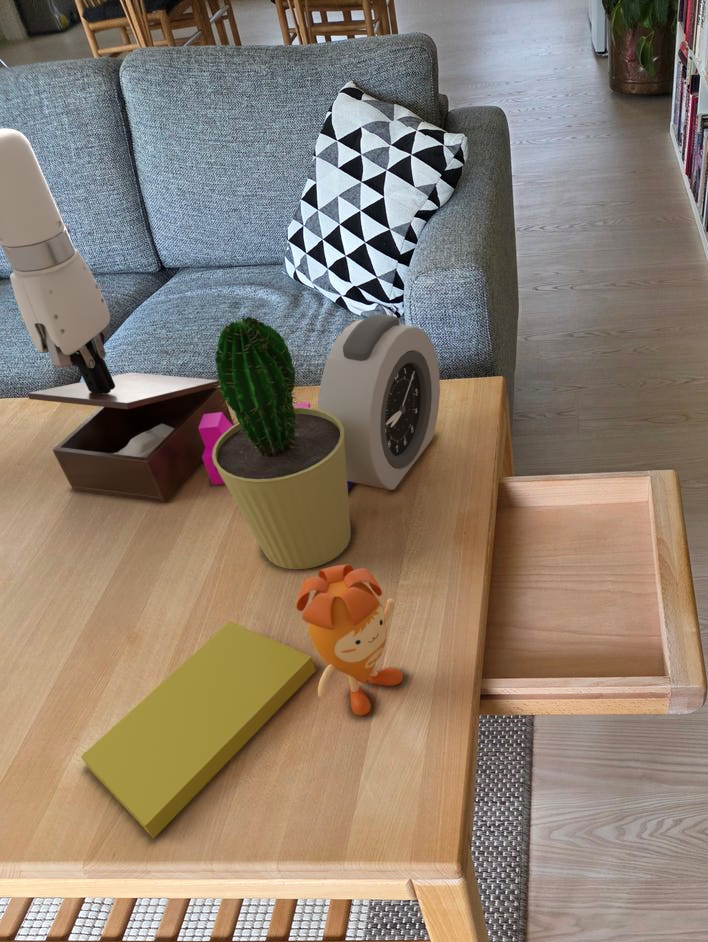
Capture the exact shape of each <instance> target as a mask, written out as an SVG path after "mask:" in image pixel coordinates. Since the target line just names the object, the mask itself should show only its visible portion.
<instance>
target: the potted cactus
mask: <svg viewBox="0 0 708 942" xmlns="http://www.w3.org/2000/svg"><path fill="white" fill-rule="evenodd" d="M254 311H256V310H255V308H254ZM231 314H232V316H233V320H232V321H231V322H230V321H229V320H228V318H227V317H225V318H226V323H224V325H225V326H224V325H221V327H222V328H223V329H222V330H221V329H217V332H218V333H219V335H218V338H216V337H213V339H214V340H216V341H218V342H217V343H215V342H214V341H213V342H212V341H210V340H209V343H211V344H214V345H215V346H217V348H216V347H215V349H214V351H215V352H214V351H211V350H210V349H207V351H206V352H207V353H208V354H209V355H210V356H212V357H214V358H213V359H211V360H213V361H214V363H213V366H214V367H215V368H216V370H215V371H212V374H213V375H215V374H216V375H215V376H214V377H213V379H214V378H218V379H216V380H217V381H219V383H220V384H219V386H220V388H221V390H219V389H220V388H219V389H218V390H219V391H221V393H222V397H223V399H224V400H226V403H227V405H225V406H228V408H227V409H231V412H230V414H233V413H234V415H235V418H234V419H233V418H232V421H233V420H237V421H238V422H237V423H235V424H234V426H232V427H231V428H229V429H228V430H227V431H226V432H225V433H224V434H222V436H221V437H220V438H219V439H218V441H217V442H216V444H215V446H214V448H213V453H212V458H213V462H214V464H215V466H216V467H217V469H218V472H219V474H220V475H221V477H222V479H223V481H224V482H225V483H224V484H225V486H226V488H227V489H228V491H229V493H230V495H231V497H232V498H233V500H234V502H235V504H236V506H237V507H238V509H239V512H241V514H242V516H243V518H244V521H246V523H247V525H248V527H249V529H250V530H251V532H252V534H253V536H254V538H255V539H256V541H257V543H258V545H259V547H260V548H261V551H262V552H263V553H264V555H265V556H266V558H267V560H269V561H270V562H271V563H272V564H274V565H275V566H278V567H280V568H283V569H287V570H307V569H311V568H312V569H313V568H316V567H319V566H322V565H325V564H327V563H329V562H331V561H332V560H334V559H335V558H337V557H339V556H340V555H341V554H342V553H343V552H344V551H345V550H346V548H347V547H348V545H349V543H350V540H351V535H352V530H351V528H352V527H351V514H350V503H349V502H350V501H349V490H348V487H347V473H346V459H345V444H344V428H343V426H342V423H341V422H340V421H339V420H338V419H337V417H335V416H334V415H332V414H330V413H329V412H326V411H323V410H320V409H318V408H314V407H311V406H310V407H311V408H310V407H294V405H293V404H298V403H300V400H297V398H298V397H299V395H297V394H298V393H297V392H296V393H294V389H295V388H298V386H301V384H300V383H301V381H300V382H299V381H296V372H298V371H299V370H298V368H299V369H300V368H301V365H298V366H294V365H293V359H294V358H297V357H298V356H300V354H301V352H300V353H299V354H296V355H295V356H292V355H291V353H290V352H292V353H293V351H292V350H290V349H289V346H290V344H288V345H287V344H286V342H285V339H286V338H288V337H289V336H291V335H292V333H290V334H289V335H287V336H286V334H287V330H288V329H287V328H286V329H285V330H284V332H283V333H282V335H281V334H280V332H278V327H277V328H274V327H275V324H274V323H275V321H276V319H277V318H275V319H274V321H273V322H272V324H271V325H268V323H269V321H270V319H268V320H267V322H266V323H265V319H263V320H262V321H261V320H259V319H260V315H261V314H260V313H258V314H257V316H255V317H252V316H253V314H250V316H247V317H244V316H245V314H243V316H241V318H240V317H239V316H238V318H237V319H236V317H235V315H234V314H233V312H231ZM285 336H286V337H285ZM207 346H208V347H210V348H211V349H213V346H210V345H209V344H207ZM209 352H210V353H209ZM211 353H212V354H211ZM214 355H215V356H214ZM304 365H305V364H303V366H304ZM296 369H297V370H296ZM215 385H216V384H215ZM216 389H217V387H216ZM217 392H218V391H217ZM223 399H222V400H223ZM222 400H221V401H222ZM221 401H220V402H221ZM220 402H219V403H220ZM219 403H218V404H219ZM222 403H223V402H222ZM224 403H225V402H224ZM226 403H225V404H226ZM301 403H304V402H301ZM223 405H224V404H223ZM223 405H222V406H223ZM225 406H223V407H225ZM220 407H221V406H220ZM223 407H222V408H223ZM225 410H226V409H225ZM225 410H224V411H225ZM224 411H223V412H224ZM223 412H222V413H223ZM232 412H233V413H232Z"/></svg>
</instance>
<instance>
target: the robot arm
mask: <svg viewBox="0 0 708 942" xmlns="http://www.w3.org/2000/svg"><path fill="white" fill-rule="evenodd" d="M70 232H71V230H70V227H69V226H68V225H67V224H66V223H64V220H63V217H62V215H61V213H60V210H59V208H58V206H57V204H56V201H55V199H54V196H53V194H52V191H51V189H50V186H49V184H48V182H47V180H46V178H45V174H44V173H43V170H42V167H41V165H40V164H39V160H38V158H37V155H36V154H35V151H34V149H33V147H32V145H31V143H30V141H29V140H28V138H27V137H26V136H25V134H24V133H23V132H20V131H19V130H17V129H13V128H5V127H4V128H0V247H1V249H2V251H3V253H4V256H5V257H6V260H7V261H8V263H9V266H10V268H11V270H12V273H10V275H9V280H10V283H11V288H12V291H13V294H14V298H15V301H16V303H17V306H18V307H17V308H18V310H19V312H20V315H21V317H22V319H23V322H24V324H25V327H26V329H27V332H28V334H29V336H30V338H31V340H32V343H33V344H34V347H35V348H36V350H37V352H39V353H40V354H47V353H48V354H49V357H50V361H51V364H52V366H53V367H55V368H66V367H68V366H72V367H74V368H78V370H79V373H80V374H81V377H82V379H83V382H85V383H86V385H87V387H88V390H89V391H90V392H93V393H104V394H108V393H109V392H110V391H111V390H113V389H114V388H115V384H114V381H113V379H112V377H111V376H112V375H111V372H110V370H109V368H108V366H107V363H106V361H105V359H106V357H107V353H106V350H105V347H104V346H105V345H104V344H105V338H106V337H107V335H108V334H109V332H110V331H111V328H112V326H111V323H110V322H111V314H110V309H109V307H108V304H107V302H106V300H105V298H104V295H103V293H102V291H101V288H100V286H99V284H98V283H97V280H96V279H95V277H94V274H93V273H92V271H91V269H90V268H89V266H88V264H87V263H86V260H85V259H84V258H83V256H82V255H81V253H80V251H79V250H78V249H77V248H75V246H74V244H73V242H72V239H71V236H70Z"/></svg>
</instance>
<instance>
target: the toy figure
mask: <svg viewBox="0 0 708 942" xmlns="http://www.w3.org/2000/svg"><path fill="white" fill-rule="evenodd" d="M366 583H367V584H368V585H369V586H368V585H367V584H366ZM313 591H315V592H314V594H313V596H312V599H311V601H310V602H309V599H310V596H311V592H313ZM382 595H383V590H382V588H381V586H380V585H379V583H378V581H377V580H376V578H375V577H374V576H373V574H372V573H371V572H370V571H369V570H368V569H366V568H364V567H363V568H362V567H361V568H356V569H354V567H353V566H352V565H351V564H340V565H339V564H338V565H333V566H329V567H326V568H325V567H324V568H322V569H320V570H319V571H318V576H317V577H316V576H313V577H308V578H306V579H305V581H304V582H303V584H302V586H301V589H300V591H299V593H298V597H297V600H296V605H295V606H296V609H297V611H299V612H303V613H302V616H301V618H302V620H303V621H304V622H306V623H307V624H308V631H309V636H310V639H311V642H312V644H313V646H314V648H315V649H316V651H317V653H318V655H319V656H320V657H321V658H322V659H323V660H324V662H325V663H327V666H326V668H325V669H324V671H323V673H322V675H321V676H320V679H319V682H318V686H317V696H318V697H319V698H321V699H323V698H325V697H326V696H327V687H328V683H329V680H330V677H331V676H332V673H333V672H334V671H335V670H337V671H339V672H341V673H343V674H345V675H347V676H348V682H349V688H350V689H349V690H350V692H349V696H350V698H349V699H350V707H351V710H352V712H353V713H354V715H357V716H360V717H361V716H365V715H367V714H368V713H370V711H371V709H372V706H371V701H370V700H369V698H368V697H367V695H366V694H365V693H364V692H363V690H362V689H361V688H360V686H359V683H360V684H365V683H366V682H367V681H369V683H371V684H373V685H380V686H388V687H391V686H392V687H393V686H397V685H399V684H400V683H402V682H403V679H404V674H403V673H402V671H401V670H400V669H398V668H395V667H387V668H384V669H381V670H378V668H377V665H376V664H377V662H378V661H379V659H380V658H381V656H382V654H383V652H384V649H385V646H386V642H387V633H388V630H387V622H388V620H389V619H390V617H391V616H392V614H393V611H394V609H395V604H396V603H395V602H396V600H395V599H394V598H388V599H387V600H386V605H385V608H383V605H382V602H381V601H380V599H379V597H381V596H382ZM308 602H309V603H308ZM358 682H359V683H358Z"/></svg>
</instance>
